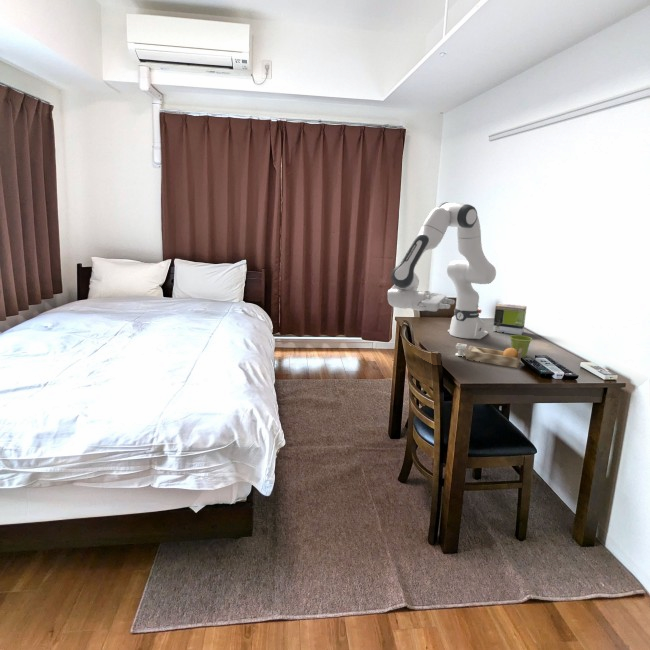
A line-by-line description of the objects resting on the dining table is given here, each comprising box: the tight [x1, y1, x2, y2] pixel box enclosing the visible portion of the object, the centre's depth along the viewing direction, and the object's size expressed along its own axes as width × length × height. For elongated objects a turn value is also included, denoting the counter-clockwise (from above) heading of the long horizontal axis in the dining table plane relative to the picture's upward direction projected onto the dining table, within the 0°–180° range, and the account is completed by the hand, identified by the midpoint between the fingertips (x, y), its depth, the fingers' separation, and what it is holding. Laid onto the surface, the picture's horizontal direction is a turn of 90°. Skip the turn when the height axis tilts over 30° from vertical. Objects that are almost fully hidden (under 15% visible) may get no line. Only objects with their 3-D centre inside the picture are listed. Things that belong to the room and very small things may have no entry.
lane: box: [465, 345, 522, 369], centre depth 210 cm, size 22×9×7 cm, turn 64°
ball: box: [503, 347, 518, 358], centre depth 208 cm, size 6×6×6 cm
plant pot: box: [509, 334, 533, 358], centre depth 219 cm, size 9×9×9 cm
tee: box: [455, 342, 468, 358], centre depth 216 cm, size 4×4×5 cm
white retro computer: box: [492, 302, 527, 336], centre depth 262 cm, size 15×10×15 cm, turn 62°
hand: (452, 304), depth 214 cm, fingers open, 8 cm apart
